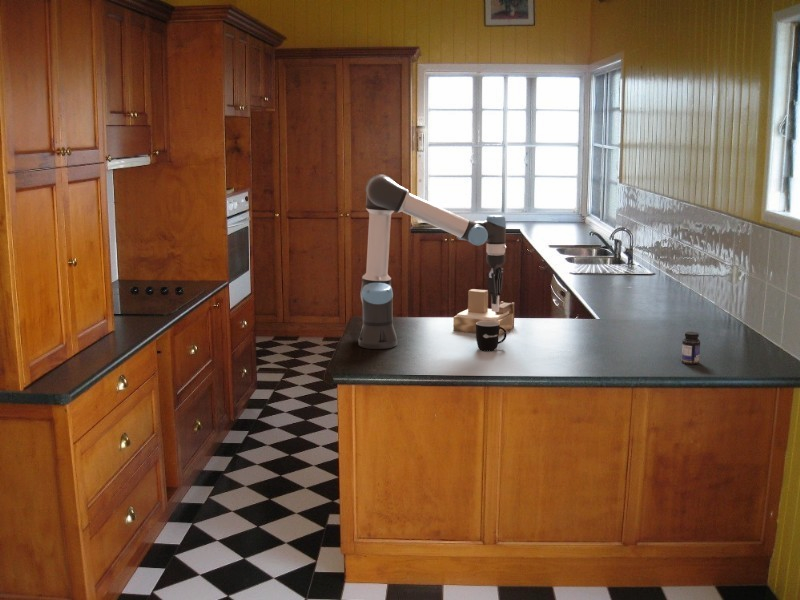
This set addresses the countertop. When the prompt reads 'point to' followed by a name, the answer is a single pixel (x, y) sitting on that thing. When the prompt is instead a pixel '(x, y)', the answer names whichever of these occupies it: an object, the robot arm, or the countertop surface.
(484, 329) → the mug
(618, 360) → the countertop surface
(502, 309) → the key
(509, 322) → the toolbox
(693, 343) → the pill bottle
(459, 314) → the lid
